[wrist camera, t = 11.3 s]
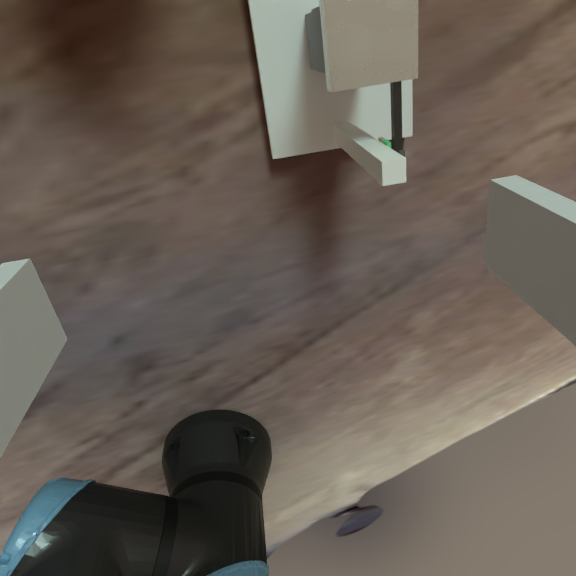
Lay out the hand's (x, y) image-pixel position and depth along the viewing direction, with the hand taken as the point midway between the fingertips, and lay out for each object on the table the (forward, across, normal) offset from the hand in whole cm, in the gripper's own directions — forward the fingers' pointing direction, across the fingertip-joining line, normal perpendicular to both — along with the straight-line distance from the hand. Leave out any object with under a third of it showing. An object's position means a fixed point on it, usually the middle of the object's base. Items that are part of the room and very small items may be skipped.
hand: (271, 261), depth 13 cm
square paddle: (+30, +9, +2) cm, 31 cm away
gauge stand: (+35, +9, +5) cm, 36 cm away
